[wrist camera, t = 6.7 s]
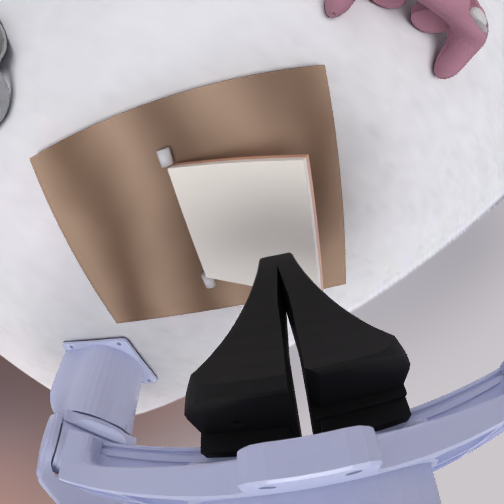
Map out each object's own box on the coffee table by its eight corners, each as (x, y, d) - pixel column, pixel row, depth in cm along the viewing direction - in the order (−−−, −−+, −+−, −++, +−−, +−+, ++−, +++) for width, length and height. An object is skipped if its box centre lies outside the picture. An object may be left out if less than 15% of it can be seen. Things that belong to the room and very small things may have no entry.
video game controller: (440, 43, 14) (502, 11, 7) (442, 87, 14) (516, 60, 8) (324, -22, 12) (369, -86, 5) (314, 17, 12) (369, -55, 6)
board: (120, 314, 25) (116, 323, 24) (38, 153, 16) (29, 158, 15) (341, 274, 23) (345, 283, 22) (319, 65, 15) (324, 64, 14)
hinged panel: (320, 310, 17) (324, 301, 18) (298, 135, 11) (304, 131, 12) (203, 287, 21) (209, 280, 22) (153, 152, 16) (162, 147, 16)
